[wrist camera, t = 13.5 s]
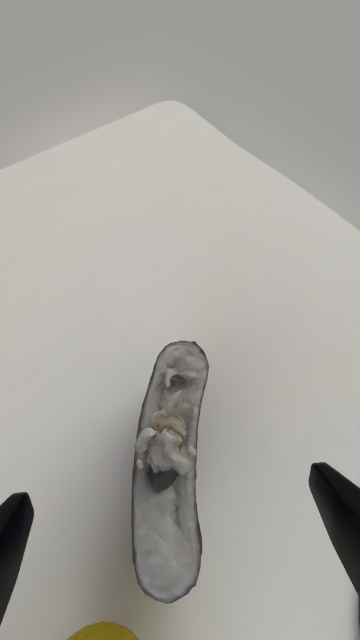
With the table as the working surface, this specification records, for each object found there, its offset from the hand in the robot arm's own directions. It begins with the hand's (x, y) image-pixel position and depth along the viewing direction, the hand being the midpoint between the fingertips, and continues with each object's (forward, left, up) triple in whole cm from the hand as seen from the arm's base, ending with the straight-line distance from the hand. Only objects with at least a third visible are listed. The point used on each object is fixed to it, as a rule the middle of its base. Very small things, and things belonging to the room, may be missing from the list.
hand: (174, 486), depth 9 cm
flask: (+1, -1, -11) cm, 11 cm away
